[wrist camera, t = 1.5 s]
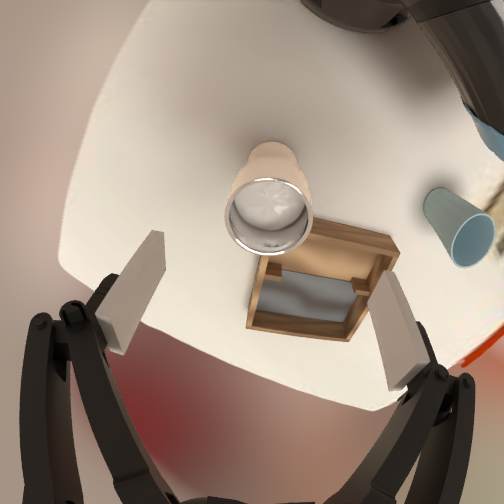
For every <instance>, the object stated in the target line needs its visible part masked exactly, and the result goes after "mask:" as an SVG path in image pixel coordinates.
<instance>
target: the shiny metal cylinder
mask: <svg viewBox="0 0 504 504" xmlns="http://www.w3.org/2000/svg"><path fill="white" fill-rule="evenodd" d="M312 223H313V212H312V203H311V195H310V190H309V187H308V184H307V181H306V179H305V177H304V175H303V173H302V172H301V171H300V169H299V168H298V167H297V160H296V157H295V155H294V153H293V152H292V150H291V149H290V148H289V147H287V146H286V145H284V144H282V143H279V142H265V143H262V144H260V145H258V146H257V147H256V148H254V149H253V151H252V152H251V153H250V155H249V158H248V162H247V164H246V165H245V166H244V167H243V168H242V169H241V170H240V171H239V173H238V174H237V176H236V178H235V179H234V181H233V184H232V186H231V189H230V193H229V197H228V202H227V205H226V208H225V224H226V227H227V230H228V232H229V234H230V236H231V237H232V239H233V240H234V241H235V242H236V243H237V244H238V245H239V246H240V247H242V248H243V249H245V250H247V251H249V252H251V253H253V254H257V255H261V256H278V255H283V254H286V253H288V252H291V251H293V250H294V249H296V248H297V247H299V246H300V245H301V244H302V243H303V242H304V241H305V239H306V238H307V237H308V235H309V233H310V231H311V228H312Z"/></svg>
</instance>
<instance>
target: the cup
mask: <svg viewBox="0 0 504 504" xmlns="http://www.w3.org/2000/svg"><path fill="white" fill-rule="evenodd" d="M424 213H425V215H426V217H427V219H428V221H429V222H430V224H431V225H432V227H433V228H434V230H435V232H436V233H437V235H438V236H439V238H440V240H441V241H442V243H443V245H444V247H445V248H446V250H447V252H448V254H449V256H450V257H451V259H452V261H453V263H454V264H455V265H456V266H458V267H460V268H469V267H472V266H474V265H476V264H477V263H479V262H480V261H481V260H482V259H483V258H484V257H485V256H486V255H487V253H488V252H489V250H490V249H491V247H492V244H493V242H494V238H495V223H494V221H493V219H492V218H491V216H489V215H488V214H487V213H485V212H483V211H482V210H480V209H479V208H477V207H475V206H474V205H472V204H471V203H469V202H467V201H466V200H464V199H462V198H461V197H459V196H457V195H456V194H454V193H452V192H450V191H448V190H447V189H445V188H437V189H434V190H433V191H431V192H430V193H429V194H428V196H427V197H426V199H425V202H424Z"/></svg>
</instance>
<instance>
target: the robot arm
mask: <svg viewBox="0 0 504 504" xmlns="http://www.w3.org/2000/svg"><path fill="white" fill-rule="evenodd" d="M301 2H302V3H303V4H304V5H305V6H306V7H307V8H308V9H310V10H311V11H312V12H313V13H314V14H316V15H317V16H319V17H320V18H322V19H324V20H325V21H327V22H329V23H331V24H333V25H335V26H338V27H341V28H344V29H347V30H350V31H355V32H361V33H379V32H384V31H388V30H391V29H393V28H395V27H397V26H400V25H401V24H403V23H404V22H405V21H407V20H408V19H409V18H410V16H412V17H413V18H414V19H415V21H416V23H417V24H418V25H419V27H420V28H421V29H422V31H423V32H424V33H425V35H426V36H427V38H428V39H429V41H430V42H431V44H432V45H433V47H434V48H435V50H436V51H437V53H438V54H439V56H440V57H441V59H442V61H443V62H444V64H445V66H446V67H447V69H448V71H449V73H450V75H451V77H452V78H453V80H454V82H455V84H456V86H457V88H458V90H459V92H460V94H461V98H462V101H463V104H464V107H465V108H466V110H467V111H468V113H469V114H470V115H471V116H472V119H473V121H474V123H475V125H476V127H477V130H478V132H479V134H480V136H481V138H482V140H483V141H484V143H485V144H486V146H487V147H488V148H489V149H490V150H491V151H493V152H494V153H495V154H496V156H498V158H500V159H501V160H502V161H504V0H301ZM165 271H166V263H165V245H164V232H160V231H154V230H152V231H151V232H150V233H149V235H148V236H147V237H146V239H145V240H144V241H143V243H142V244H141V246H140V247H139V248H138V250H137V251H136V252H135V254H134V255H133V257H132V258H131V259H130V261H129V262H128V264H127V265H126V267H125V268H124V269H123V271H122V272H121V274H120V275H117V274H113V273H111V274H110V275H108V276H107V277H105V278H104V279H103V280H102V282H101V283H100V285H99V287H98V288H97V289H96V290H95V293H93V295H92V297H91V298H90V299H89V301H88V302H87V304H86V305H84V303H82V302H81V301H77V300H73V301H69V302H67V303H65V304H64V305H63V306H62V307H61V309H60V312H59V316H60V318H61V320H62V321H61V320H53V319H52V318H51V316H50V315H49V314H48V313H44V312H43V313H38V314H37V315H35V316H34V317H33V318H32V320H31V322H30V325H29V330H28V335H27V341H26V347H25V354H24V360H23V369H22V378H21V391H20V415H19V418H20V419H19V420H20V423H19V424H20V448H21V461H22V470H23V477H24V484H25V486H24V493H23V502H22V504H84V502H83V493H82V487H81V483H80V477H79V472H78V467H77V461H76V455H75V447H74V439H73V430H72V419H71V401H70V361H72V364H73V368H74V373H75V377H76V381H77V384H78V388H79V391H80V395H81V398H82V401H83V405H84V408H85V411H86V414H87V416H88V420H89V423H90V425H91V428H92V431H93V433H94V436H95V438H96V441H97V443H98V446H99V448H100V451H101V453H102V455H103V457H104V460H105V462H106V464H107V466H108V468H109V470H110V472H111V475H112V477H113V485H114V488H115V490H116V492H117V494H118V496H119V498H120V500H121V502H122V503H123V504H246V503H243V502H240V501H237V500H232V499H224V498H218V497H211V496H208V497H201V498H194V499H190V500H187V501H184V502H181V503H180V502H179V500H178V499H177V497H176V496H175V495H174V493H173V491H172V490H171V488H170V487H169V486H168V484H167V483H166V481H165V480H164V479H163V478H162V476H161V474H160V473H159V471H158V469H157V468H156V466H155V464H154V463H153V461H152V459H151V457H150V455H149V454H148V452H147V450H146V448H145V446H144V444H143V443H142V440H141V438H140V436H139V434H138V432H137V430H136V429H135V426H134V424H133V422H132V420H131V418H130V415H129V413H128V411H127V409H126V406H125V404H124V402H123V399H122V397H121V394H120V392H119V389H118V387H117V384H116V382H115V379H114V377H113V374H112V371H111V368H110V365H109V363H108V360H107V356H106V353H105V351H104V350H105V348H106V346H107V345H108V347H109V349H110V351H112V352H115V353H118V354H121V355H124V354H125V352H126V350H127V348H128V345H129V343H130V341H131V339H132V337H133V335H134V332H135V330H136V328H137V326H138V324H139V322H140V320H141V318H142V316H143V314H144V312H145V310H146V308H147V306H148V304H149V302H150V300H151V298H152V296H153V294H154V292H155V290H156V288H157V286H158V284H159V282H160V280H161V278H162V276H163V274H164V272H165ZM367 305H368V308H369V311H370V315H371V318H372V322H373V326H374V329H375V333H376V337H377V341H378V345H379V349H380V353H381V357H382V361H383V366H384V370H385V375H386V379H387V384H388V389H389V391H400V390H402V389H403V388H404V387H405V386H406V385H407V388H408V390H407V391H406V392H405V393H404V394H403V395H402V396H401V397H399V398H398V400H397V401H399V400H400V399H401V401H400V403H399V405H398V407H397V408H396V410H395V412H394V414H393V415H392V417H391V419H390V421H389V422H388V424H387V426H386V427H385V429H384V430H383V432H382V434H381V435H380V437H379V438H378V440H377V441H376V443H375V444H374V446H373V447H372V449H371V450H370V452H369V453H368V454H367V456H366V457H365V459H364V460H363V461H362V463H361V464H360V465H359V467H358V468H357V469H356V471H355V472H354V473H353V474H352V476H351V477H350V478H349V479H348V481H347V482H346V483H345V484H344V486H343V487H342V488H341V489H340V490H339V491H338V492H337V493H335V494H334V495H332V496H331V497H330V498H328V499H327V500H326V502H324V503H323V504H396V500H395V496H396V494H397V492H398V491H399V489H400V487H401V486H402V484H403V483H404V481H405V479H406V477H407V476H408V474H409V472H410V471H411V468H412V467H413V465H414V463H415V461H416V460H417V457H418V456H419V454H420V452H421V454H420V458H419V461H418V465H417V468H416V472H415V475H414V478H413V481H412V484H411V487H410V490H409V492H408V495H407V498H406V500H405V503H404V504H459V502H460V498H461V495H462V491H463V487H464V483H465V478H466V473H467V469H468V463H469V458H470V451H471V444H472V436H473V426H474V412H475V381H474V379H473V377H471V375H470V374H468V373H462V374H461V375H460V376H459V377H454V376H451V375H449V373H448V371H447V369H446V368H445V367H444V366H442V365H440V364H438V363H437V360H436V357H435V354H434V351H433V349H432V346H431V343H430V340H429V338H428V335H427V333H426V330H425V328H424V327H423V326H422V324H421V323H420V322H418V321H415V318H414V316H413V313H412V311H411V308H410V306H409V304H408V301H407V299H406V297H405V294H404V292H403V290H402V288H401V286H400V283H399V281H398V279H397V277H396V275H395V273H394V272H391V271H386V270H384V271H383V273H382V275H381V277H380V279H379V281H378V283H377V285H376V287H375V289H374V291H373V292H372V294H371V296H370V298H369V300H368V302H367ZM451 409H452V412H451ZM280 504H315V502H304V503H303V502H301V503H280Z"/></svg>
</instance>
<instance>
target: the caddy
mask: <svg viewBox="0 0 504 504" xmlns="http://www.w3.org/2000/svg"><path fill="white" fill-rule="evenodd" d="M399 255H400V252H399V250H398V248H397V247H396V245H395V243H394V242H393V240H392V238H391V237H390V236H388V235H384V234H380V233H376V232H372V231H368V230H364V229H360V228H356V227H352V226H347V225H343V224H339V223H334V222H330V221H325V220H321V219H316V218H313V223H312V228H311V231H310V233H309V235H308V237H307V238H306V239H305V241H304V242H303V243H302V244H301V245H300V246H299V247H297V248H296V249H294V250H293V251H291V252H288V253H286V254H283V255H278V256H261V255H260V260H259V264H258V269H257V273H256V277H255V282H254V286H253V290H252V295H251V299H250V303H249V308H248V314H247V322H246V329H252V330H258V331H264V332H271V333H277V334H284V335H291V336H299V337H306V338H315V339H323V340H332V341H342V342H349V341H350V339H351V338H352V336H353V335H354V333H355V332H356V330H357V329H358V327H359V325H360V324H361V322H362V321H363V319H364V318H365V316H366V314H367V313H368V311H369V308H368V305H367V302H368V300H369V298H370V296H371V294H372V292H373V291H374V289H375V287H376V285H377V283H378V281H379V279H380V277H381V275H382V273H383V271H384V270H386V271H392V269H393V267H394V265H395V263H396V261H397V259H398V257H399Z"/></svg>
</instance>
